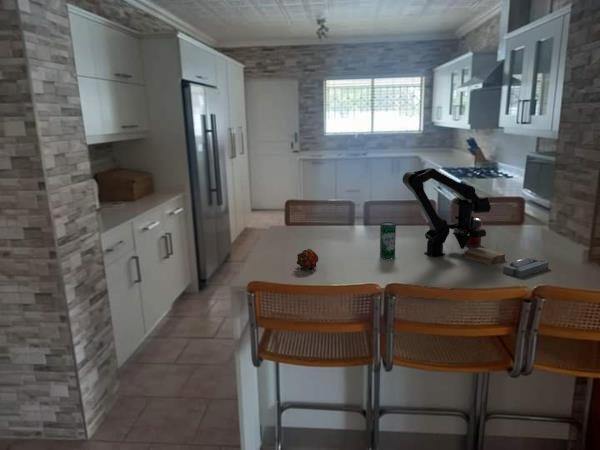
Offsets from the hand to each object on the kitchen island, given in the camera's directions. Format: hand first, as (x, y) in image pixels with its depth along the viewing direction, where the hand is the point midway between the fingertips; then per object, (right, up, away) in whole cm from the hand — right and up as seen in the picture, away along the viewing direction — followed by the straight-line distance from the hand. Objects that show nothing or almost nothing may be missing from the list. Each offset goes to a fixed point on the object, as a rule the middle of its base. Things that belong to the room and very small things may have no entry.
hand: (462, 248), depth 196 cm
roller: (+14, -6, -22) cm, 27 cm away
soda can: (+9, +1, +11) cm, 14 cm away
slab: (+6, -4, -9) cm, 11 cm away
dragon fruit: (-68, -7, -14) cm, 70 cm away
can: (-34, -4, -4) cm, 34 cm away
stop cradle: (+16, -7, -24) cm, 30 cm away
